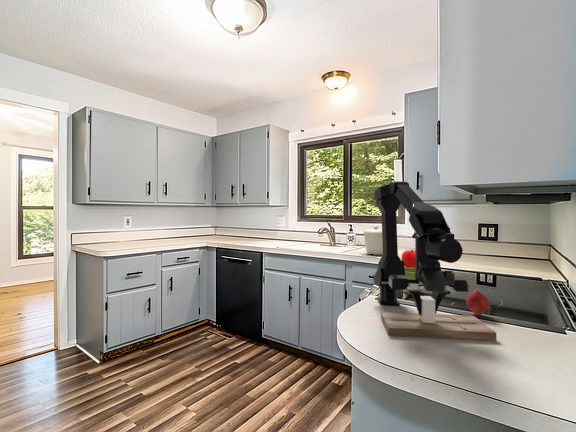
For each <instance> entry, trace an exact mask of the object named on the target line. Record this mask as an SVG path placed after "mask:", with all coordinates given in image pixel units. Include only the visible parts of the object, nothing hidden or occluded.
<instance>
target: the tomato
mask: <svg viewBox="0 0 576 432" xmlns="http://www.w3.org/2000/svg"><path fill="white" fill-rule="evenodd" d="M400 259H401V261H404V268H415V250H413V249H411V250H410V249H409V250H408V249H407V250H404V251H403V252H402V254H401V257H400Z"/></svg>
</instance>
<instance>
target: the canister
mask: <svg viewBox="0 0 576 432" xmlns="http://www.w3.org/2000/svg"><path fill="white" fill-rule="evenodd" d="M362 233H363V235H364V245H365V251H366V254H368V255H370V254H374V255H373V256H383V243H382V228H381V229H379V225H375V224H374V225H373V227H372V228H370V229H369V228H368V229H365V230H364V231H362Z"/></svg>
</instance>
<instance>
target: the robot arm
mask: <svg viewBox="0 0 576 432" xmlns="http://www.w3.org/2000/svg"><path fill="white" fill-rule="evenodd" d="M374 200H375V205H376V207H377V209H378V210H379V212H380V213H381V229H382V243H383V255H381V258H380V259H379V261H378V263H377V264H378V265H377V269H376V272H375V274H374V276H373V281H374V283H373V284H375V285H376V286H378V287H379V297H377V301H378V302H379V305H388V306H401V303H400V301H399V300H398V290H401V291H403V290H405V289H406V290H407V291H408V292H409V293H411V294H410V295H411V296H412V300H413V302H414V304H415V307H416V310H417V314H419V315H421V313H422V308H421V298H420V296H422V295H421V294H422V291H421V289H420V290H419V286H420V287H423V289H424V290H425V291H427V292H431V297H432V298H433V299H434V300H435V314H437V312H438V310H439V307H440V304H441V302H442V301H443V299H444V297H445V296H447V295H451V293H452V291H450V290H449V289H450V288H452V289H453V291H455V292H462V293H463V292H464V293H465V292H466V293H468V292H470V289H469V288H470V285H469V282H468V280H466V279H465V278H462V277H460V276H455V272H454V271H453V270H442V269H441V262H445V263H448V264H454V263H456V262H458V261H459V260H460V259H461V257H462V256H463V251H464V249H463V246H462V244H461V243H460V242H459V240H457V239H455V233H452V231H451V228H450V227H449V225H448V223H447V220H446V219H445V216H444V215H443V213H442V211H441V210H440V209H438V208H437V207H436V206H434V205H431V204H428V203H425V202H424V201H423V199H421V197H420V196H419V195H418V194H417V193H416V192H415V191H414V190H413V189H412V188H411V187H410V183H409V182H408V181H406V180H405V181H398V180H396V181H395V180H394V181H392V182H390V183H389V184H388V183H387V184H385V185H382V186H379V187H378V188H377V189H376V190H375V191H374ZM400 206H403V208H404V209H405V210H406V211H407V212H408V214H409V218H408V223H409V224H410V225H411V227H412V229H413V230H414V231H415V232H414V233H413V234H412V235H411V238H413V239H414V240H415V242H414V243H415V244H414V246H415V248H414V249H415V250H414V251H415V279H407V278H406V277H405V270H404V268H405V266H404V261H402V260H401V257H400V256H399V249H398V248H399V247H398V226H397V223H398V221H397V212H398V210H399V209H400ZM419 282H420V283H419ZM409 293H408V294H409Z"/></svg>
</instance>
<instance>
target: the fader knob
mask: <svg viewBox="0 0 576 432" xmlns="http://www.w3.org/2000/svg"><path fill="white" fill-rule="evenodd" d="M420 298H421V308H422V313H421V315H419V319H420V320H421V321H422V322H423V323H435V300H434V299H433V298H432V295H420Z"/></svg>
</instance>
